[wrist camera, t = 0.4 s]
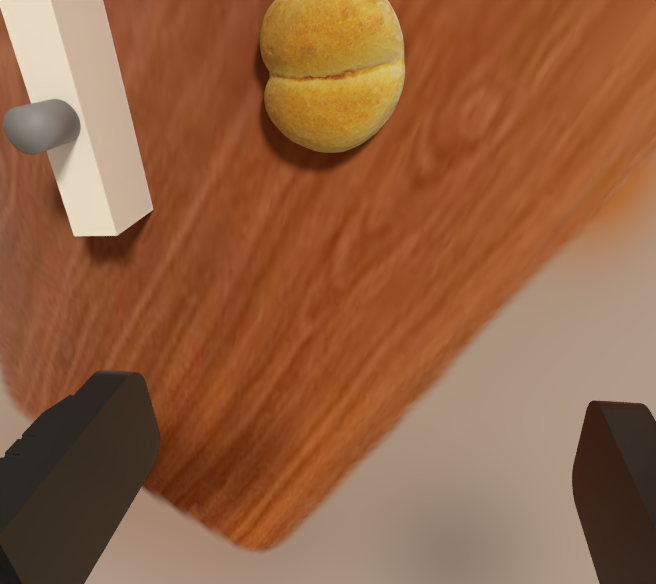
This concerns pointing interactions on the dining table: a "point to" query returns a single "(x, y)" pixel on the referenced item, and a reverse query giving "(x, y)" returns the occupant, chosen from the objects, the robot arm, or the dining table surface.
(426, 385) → the dining table surface
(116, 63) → the bench stop
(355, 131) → the bread roll
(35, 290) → the dining table surface
